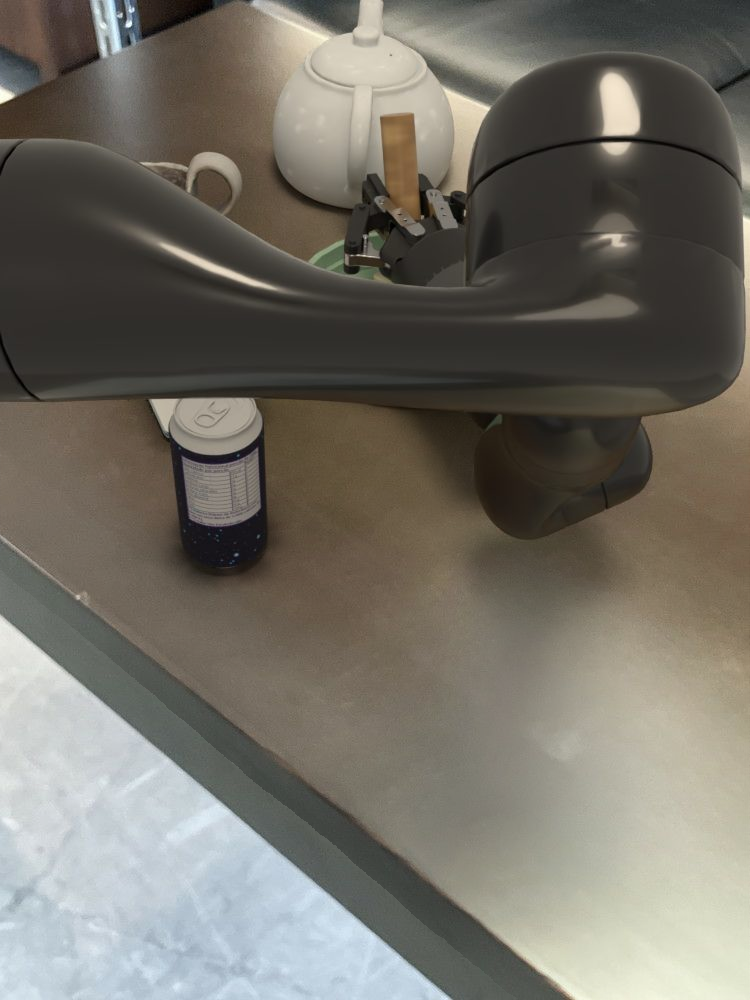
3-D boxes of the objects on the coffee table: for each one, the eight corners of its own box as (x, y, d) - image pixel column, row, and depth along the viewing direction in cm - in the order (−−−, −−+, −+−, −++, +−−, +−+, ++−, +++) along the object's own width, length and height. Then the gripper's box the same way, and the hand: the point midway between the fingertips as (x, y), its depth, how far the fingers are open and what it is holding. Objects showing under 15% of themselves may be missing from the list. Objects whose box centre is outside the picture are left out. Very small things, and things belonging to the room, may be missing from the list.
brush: (376, 320, 90) (359, 120, 84) (376, 304, 95) (360, 114, 89) (447, 314, 90) (435, 114, 84) (443, 298, 95) (432, 108, 89)
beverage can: (284, 535, 77) (281, 399, 69) (235, 590, 74) (226, 455, 65) (215, 502, 79) (204, 366, 70) (164, 554, 76) (146, 418, 67)
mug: (94, 234, 101) (78, 128, 94) (236, 223, 103) (231, 119, 96) (100, 299, 94) (83, 191, 87) (251, 285, 97) (247, 179, 90)
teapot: (225, 162, 110) (217, 21, 101) (367, 106, 119) (373, -28, 110) (354, 248, 101) (359, 102, 91) (497, 180, 110) (516, 41, 100)
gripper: (565, 248, 79) (476, 127, 90) (372, 276, 76) (304, 148, 87) (549, 335, 84) (466, 211, 96) (368, 365, 81) (304, 233, 92)
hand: (389, 181), depth 91 cm, fingers closed on brush, 2 cm apart
